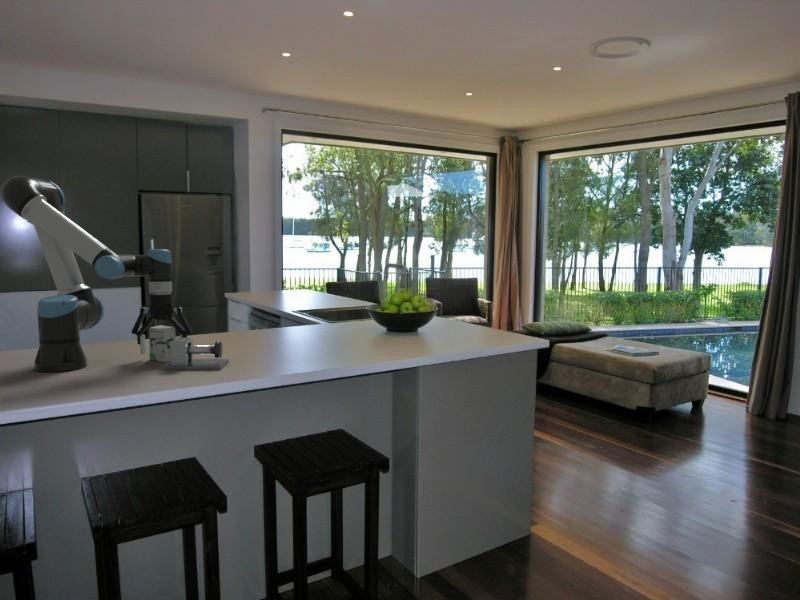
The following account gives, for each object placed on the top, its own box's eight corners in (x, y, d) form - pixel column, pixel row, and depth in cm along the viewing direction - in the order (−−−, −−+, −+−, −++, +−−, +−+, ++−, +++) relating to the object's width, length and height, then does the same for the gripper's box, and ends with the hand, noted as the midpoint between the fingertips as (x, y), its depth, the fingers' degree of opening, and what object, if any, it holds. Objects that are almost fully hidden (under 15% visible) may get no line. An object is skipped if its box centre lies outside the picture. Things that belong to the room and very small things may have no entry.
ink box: (148, 360, 212) (147, 326, 210) (160, 357, 216) (159, 325, 215) (165, 362, 207) (164, 328, 206) (177, 360, 212) (176, 326, 210)
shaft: (168, 359, 198) (168, 343, 197) (174, 356, 204) (173, 340, 203) (218, 359, 199) (218, 342, 198) (222, 356, 204) (222, 340, 204)
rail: (164, 370, 195) (163, 342, 194) (175, 362, 207) (175, 336, 206) (220, 369, 196) (219, 342, 195) (228, 362, 208) (228, 336, 207)
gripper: (119, 294, 205) (122, 355, 207) (194, 294, 206) (195, 355, 208) (128, 292, 212) (130, 351, 214) (200, 292, 214) (201, 351, 216)
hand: (162, 353), depth 211 cm, fingers open, 13 cm apart
